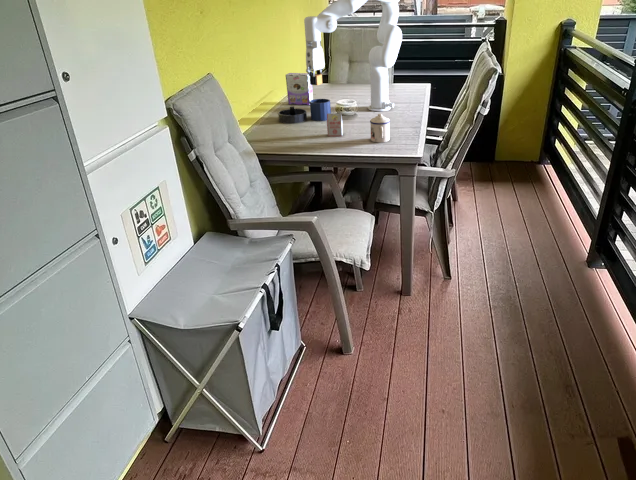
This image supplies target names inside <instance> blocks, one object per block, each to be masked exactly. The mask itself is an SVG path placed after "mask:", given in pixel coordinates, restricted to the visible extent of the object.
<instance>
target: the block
mask: <svg viewBox="0 0 636 480" xmlns="http://www.w3.org/2000/svg"><path fill="white" fill-rule="evenodd" d="M315 77H316V85H315V86H319V85H322V84H323V73H322V74H317V73H315ZM310 85H311V84H310Z"/></svg>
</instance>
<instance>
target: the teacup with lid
mask: <svg viewBox="0 0 636 480" xmlns="http://www.w3.org/2000/svg"><path fill="white" fill-rule="evenodd" d="M369 123H370V141H371V142H373V143H378V144H379V143H387V142H389V141H390V136H391V135H390V131H391V130H390V128H391V127H390V125H391V124H390V123H391V120H390V117H389V118H388V117H386V116H384V115H383V114H382V113H378V114H377V115H376V116H375V117H372V118H370V120H369Z"/></svg>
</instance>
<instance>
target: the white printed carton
mask: <svg viewBox="0 0 636 480" xmlns="http://www.w3.org/2000/svg"><path fill="white" fill-rule="evenodd" d="M343 125H344V124H343V115H342V113H331V114H327V120H326V128H327V137H343V134H344V128H343V127H344V126H343Z"/></svg>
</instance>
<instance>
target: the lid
mask: <svg viewBox="0 0 636 480" xmlns="http://www.w3.org/2000/svg"><path fill="white" fill-rule="evenodd" d="M289 109H290V114H289V115H299V114H295V110H294V109H295V105H293V106H292V105H291V106H289Z"/></svg>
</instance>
